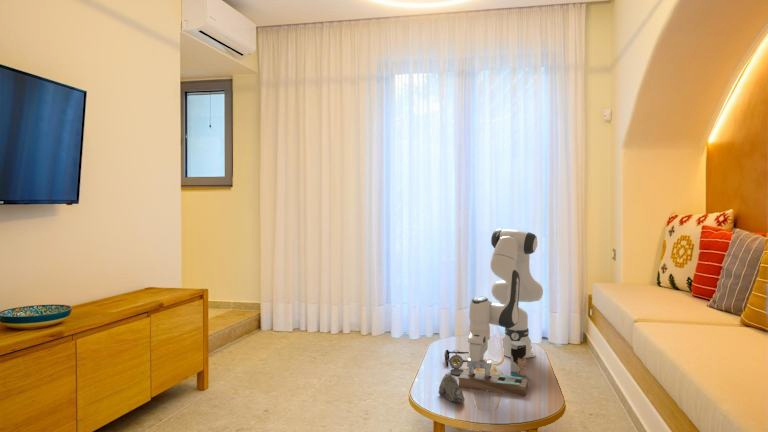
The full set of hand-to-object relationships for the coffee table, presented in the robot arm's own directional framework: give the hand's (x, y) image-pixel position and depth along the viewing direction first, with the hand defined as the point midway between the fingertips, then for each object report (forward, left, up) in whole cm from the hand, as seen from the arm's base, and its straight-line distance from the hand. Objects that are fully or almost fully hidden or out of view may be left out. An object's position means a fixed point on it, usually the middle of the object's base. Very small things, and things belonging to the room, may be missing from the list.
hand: (479, 365), depth 217 cm
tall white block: (0, 0, -6) cm, 6 cm away
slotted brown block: (0, +6, -8) cm, 10 cm away
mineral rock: (+21, -7, -9) cm, 23 cm away
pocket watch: (-12, -13, -9) cm, 19 cm away
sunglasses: (-26, -15, -9) cm, 32 cm away
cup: (-19, +14, -9) cm, 25 cm away
